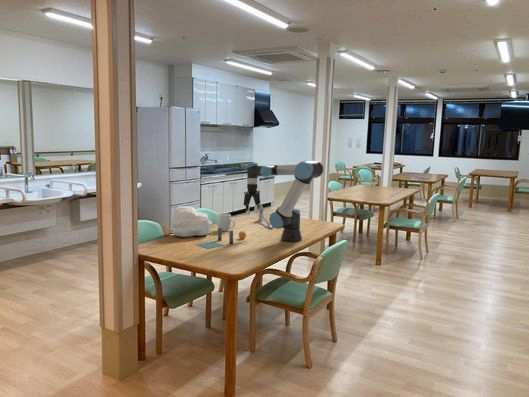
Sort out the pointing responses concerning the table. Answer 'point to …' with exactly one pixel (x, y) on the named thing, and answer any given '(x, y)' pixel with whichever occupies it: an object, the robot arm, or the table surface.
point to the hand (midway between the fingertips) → (251, 214)
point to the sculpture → (190, 222)
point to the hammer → (263, 216)
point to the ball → (242, 234)
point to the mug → (224, 221)
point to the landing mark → (209, 245)
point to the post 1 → (219, 234)
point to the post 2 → (230, 237)
